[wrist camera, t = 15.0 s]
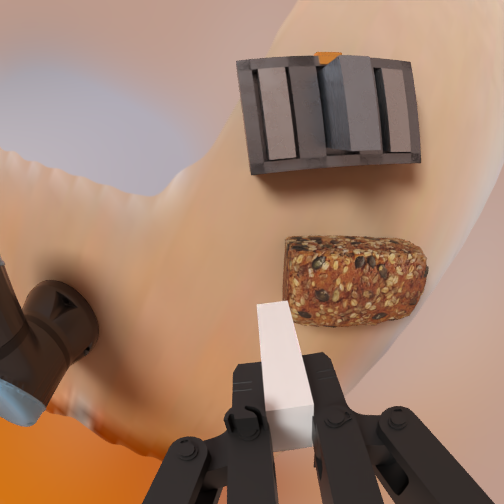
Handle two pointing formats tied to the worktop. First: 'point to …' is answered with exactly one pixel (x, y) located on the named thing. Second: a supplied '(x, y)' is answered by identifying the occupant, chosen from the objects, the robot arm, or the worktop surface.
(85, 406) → the worktop surface
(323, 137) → the rack
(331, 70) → the block
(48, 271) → the worktop surface
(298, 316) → the bread
